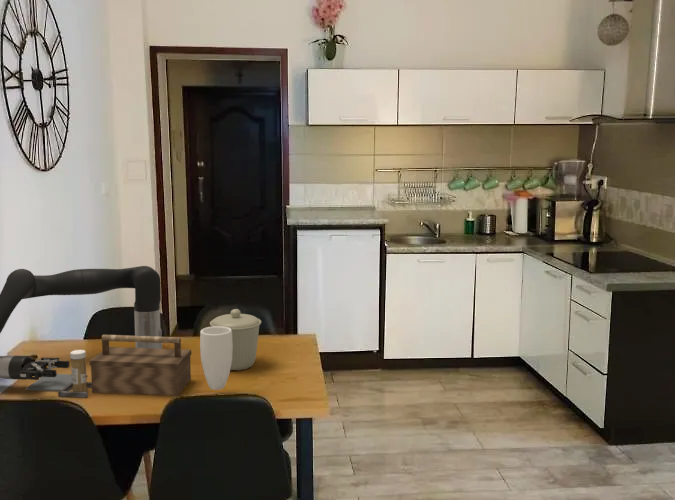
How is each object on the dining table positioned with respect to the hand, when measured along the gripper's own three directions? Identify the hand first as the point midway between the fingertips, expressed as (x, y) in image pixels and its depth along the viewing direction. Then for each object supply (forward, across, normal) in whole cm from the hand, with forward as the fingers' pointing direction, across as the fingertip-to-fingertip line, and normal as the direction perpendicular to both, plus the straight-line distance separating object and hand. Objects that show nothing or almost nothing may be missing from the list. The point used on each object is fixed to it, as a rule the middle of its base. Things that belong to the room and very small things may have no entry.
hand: (62, 368), depth 211 cm
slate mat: (-5, +6, +7) cm, 11 cm away
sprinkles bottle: (+5, 0, +8) cm, 9 cm away
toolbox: (+19, +5, +7) cm, 21 cm away
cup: (+50, +1, +8) cm, 50 cm away
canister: (+49, +30, +8) cm, 58 cm away
